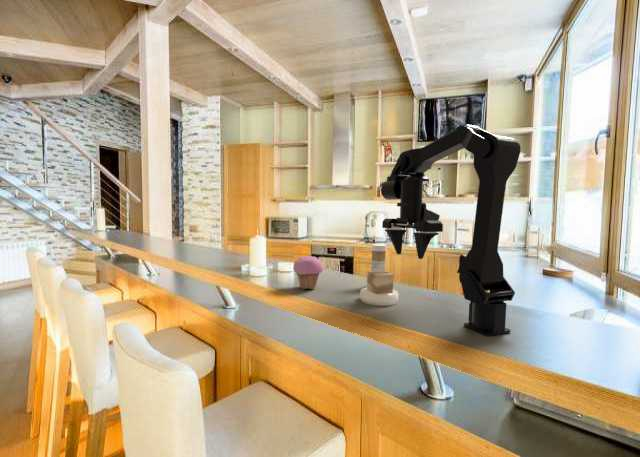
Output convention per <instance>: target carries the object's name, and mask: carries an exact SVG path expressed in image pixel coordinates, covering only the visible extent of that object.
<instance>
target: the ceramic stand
mask: <svg viewBox="0 0 640 457" xmlns="http://www.w3.org/2000/svg"><path fill="white" fill-rule="evenodd" d="M360 301H361V302H362V303H364V304H367V305H370V306H371V305H372V306H379V307H381V306H382V307H385V306H386V307H389V306H395V305H398V303H399V291H398V290H397V289H394V288H393V293H386V294H375V293H373V292H370V291H368V290H367V286H366V287H363V288H361V289H360Z"/></svg>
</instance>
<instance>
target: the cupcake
mask: <svg viewBox="0 0 640 457" xmlns="http://www.w3.org/2000/svg"><path fill="white" fill-rule="evenodd" d="M292 269H293V272H294V273H295V274H296V275H297V279H298V284H299V287H300V288H301V290H307V289H308V290H315V288H316V287H317V283H318V280H319V275H320V274H321V273H322V272H323V269H324V265H323V263H322V262H321V261H320V260H319V259H318V257H316V256H311V255H307V256H301V257H299V258H298V259H297V260H295V261H294V263H293V268H292Z"/></svg>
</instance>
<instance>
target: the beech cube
mask: <svg viewBox="0 0 640 457" xmlns="http://www.w3.org/2000/svg"><path fill="white" fill-rule="evenodd" d="M366 275H367V277H366V287H367V290H368V291H370V292H373V293H375V294H386V293H393V289H394V273H391V272H387V271H386V270H385V271H371V270H370V271H367V273H366Z"/></svg>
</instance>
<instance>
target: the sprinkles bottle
mask: <svg viewBox="0 0 640 457" xmlns="http://www.w3.org/2000/svg"><path fill="white" fill-rule="evenodd" d="M386 253H387V244H381V243H373V244H371V267H370V271H385V272H386Z"/></svg>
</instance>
